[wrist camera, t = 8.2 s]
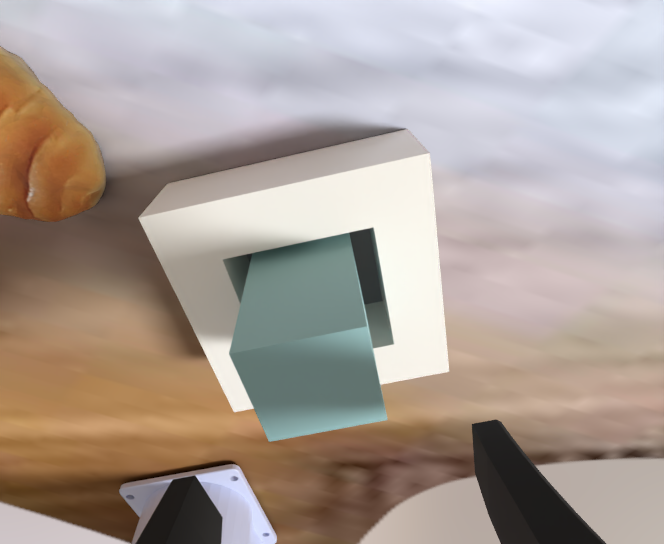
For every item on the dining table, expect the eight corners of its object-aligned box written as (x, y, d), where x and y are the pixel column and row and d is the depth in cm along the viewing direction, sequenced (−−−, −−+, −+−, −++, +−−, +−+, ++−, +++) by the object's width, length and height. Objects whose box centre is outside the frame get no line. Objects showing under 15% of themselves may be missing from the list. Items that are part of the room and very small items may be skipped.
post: (359, 281, 20) (387, 419, 13) (281, 298, 20) (269, 441, 13) (344, 209, 18) (367, 326, 11) (258, 227, 18) (229, 353, 11)
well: (429, 323, 22) (449, 371, 19) (243, 359, 22) (234, 412, 19) (407, 128, 17) (429, 152, 14) (167, 183, 17) (138, 217, 14)
